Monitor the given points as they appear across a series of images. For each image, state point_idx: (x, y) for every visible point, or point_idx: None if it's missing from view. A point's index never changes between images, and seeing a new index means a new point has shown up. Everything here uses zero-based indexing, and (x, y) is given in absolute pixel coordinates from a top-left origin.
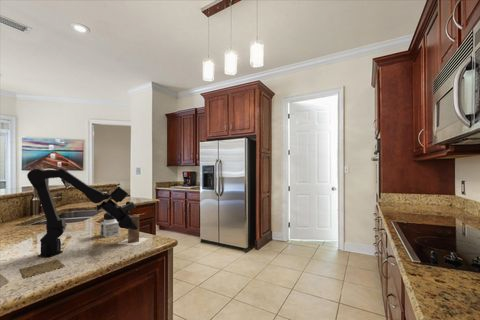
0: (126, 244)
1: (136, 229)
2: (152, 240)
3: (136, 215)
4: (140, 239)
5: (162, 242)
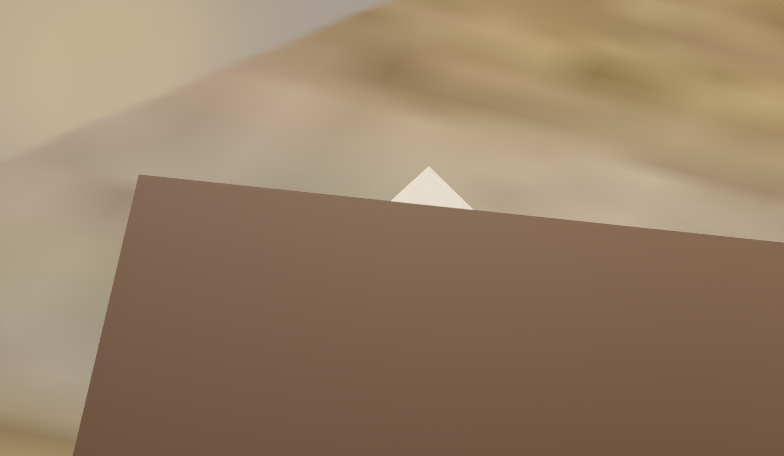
0: None
1: None
2: (561, 143)
3: (377, 444)
4: None
5: (757, 46)
